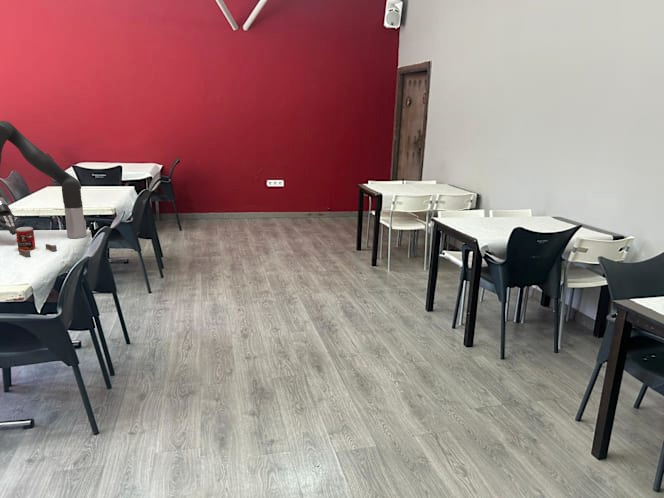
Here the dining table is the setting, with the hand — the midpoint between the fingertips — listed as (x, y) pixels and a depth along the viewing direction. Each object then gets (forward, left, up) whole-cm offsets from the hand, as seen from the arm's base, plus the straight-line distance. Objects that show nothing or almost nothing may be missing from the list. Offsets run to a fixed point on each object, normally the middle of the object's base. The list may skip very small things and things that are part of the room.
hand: (14, 233), depth 263 cm
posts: (0, +25, -6) cm, 25 cm away
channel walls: (0, +21, -6) cm, 22 cm away
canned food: (0, +11, -6) cm, 13 cm away
